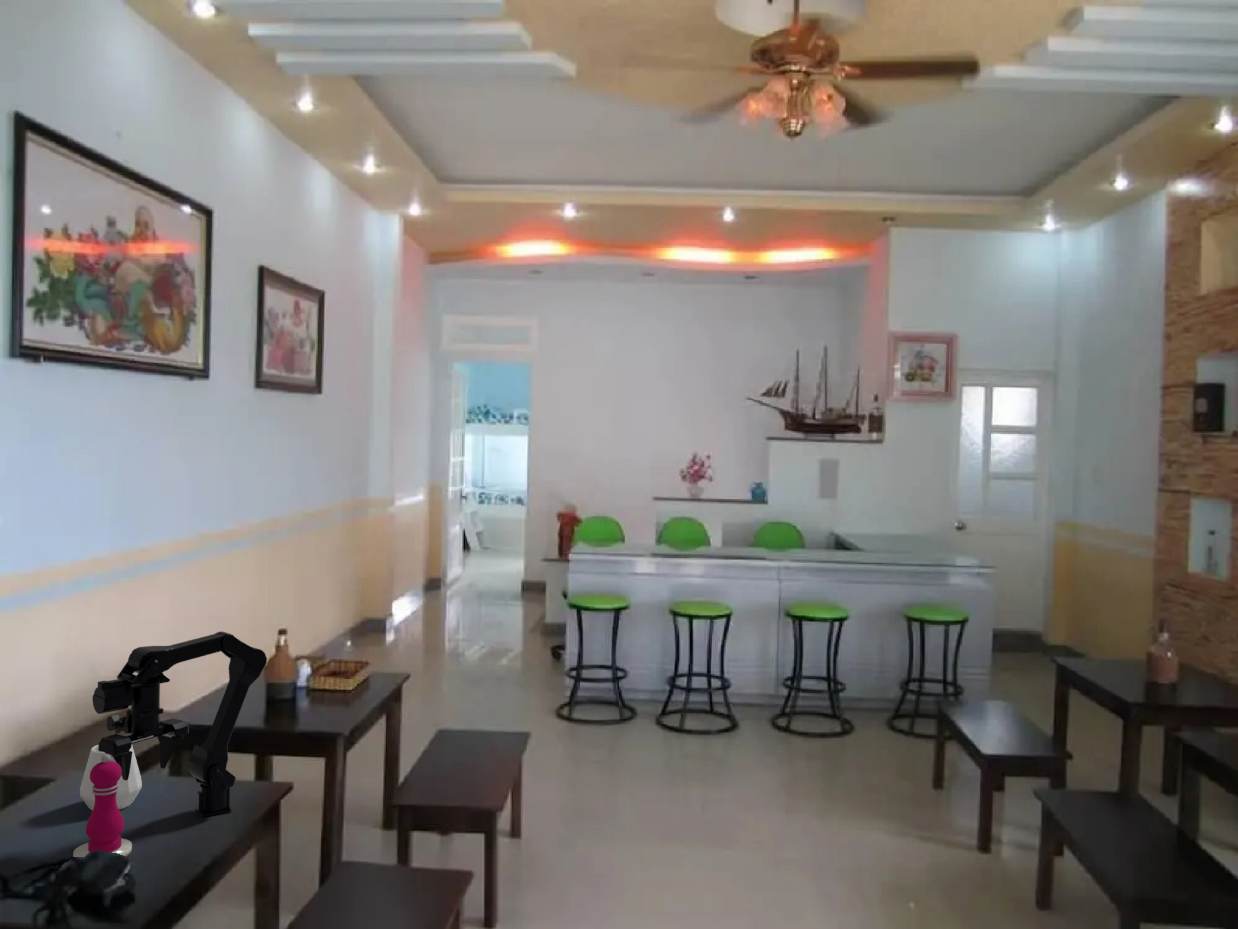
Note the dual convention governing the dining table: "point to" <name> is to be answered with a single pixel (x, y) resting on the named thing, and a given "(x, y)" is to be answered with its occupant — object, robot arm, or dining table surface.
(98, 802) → the pepper mill
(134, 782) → the cup
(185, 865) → the dining table surface
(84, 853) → the saucer
